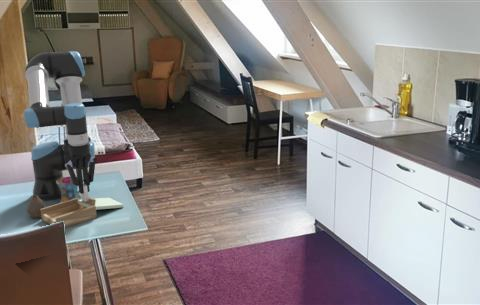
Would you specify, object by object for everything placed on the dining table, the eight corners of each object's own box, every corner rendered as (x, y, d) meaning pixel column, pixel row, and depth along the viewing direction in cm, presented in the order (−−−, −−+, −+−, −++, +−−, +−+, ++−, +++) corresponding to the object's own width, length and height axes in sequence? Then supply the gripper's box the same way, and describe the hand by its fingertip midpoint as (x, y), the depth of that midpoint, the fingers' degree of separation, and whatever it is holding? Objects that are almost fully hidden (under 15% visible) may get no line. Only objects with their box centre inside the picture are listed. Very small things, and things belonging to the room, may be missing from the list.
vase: (28, 221, 187) (25, 200, 185) (28, 215, 193) (25, 194, 191) (47, 218, 190) (44, 197, 187) (46, 212, 196) (43, 192, 193)
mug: (65, 209, 198) (61, 185, 195) (55, 203, 204) (52, 180, 201) (91, 201, 206) (89, 178, 203) (81, 196, 212) (78, 173, 209)
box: (41, 220, 188) (40, 209, 186) (79, 208, 199) (78, 197, 197) (58, 230, 178) (56, 218, 177) (96, 217, 189) (95, 206, 188)
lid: (77, 202, 196) (78, 194, 196) (108, 200, 207) (109, 192, 206) (91, 209, 188) (92, 201, 188) (123, 207, 199) (124, 198, 198)
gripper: (67, 148, 179) (74, 207, 185) (98, 141, 187) (104, 198, 194) (58, 145, 184) (65, 202, 190) (89, 138, 192) (95, 193, 199)
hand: (85, 200), depth 192 cm, fingers closed
